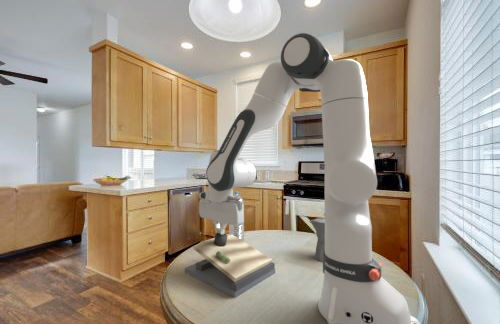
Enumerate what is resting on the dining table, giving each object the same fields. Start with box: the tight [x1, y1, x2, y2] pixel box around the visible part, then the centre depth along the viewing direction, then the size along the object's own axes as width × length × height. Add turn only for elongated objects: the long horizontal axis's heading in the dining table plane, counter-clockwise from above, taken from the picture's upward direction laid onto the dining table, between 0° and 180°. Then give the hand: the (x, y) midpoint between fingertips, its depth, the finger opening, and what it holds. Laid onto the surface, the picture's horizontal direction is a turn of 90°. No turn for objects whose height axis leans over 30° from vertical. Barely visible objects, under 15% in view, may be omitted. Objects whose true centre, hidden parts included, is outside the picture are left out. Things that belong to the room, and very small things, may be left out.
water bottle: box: [228, 191, 245, 242], centre depth 107 cm, size 7×7×25 cm
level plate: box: [193, 232, 273, 282], centre depth 80 cm, size 20×18×4 cm
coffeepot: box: [309, 212, 325, 263], centre depth 94 cm, size 15×9×18 cm, turn 86°
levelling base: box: [184, 258, 276, 298], centre depth 81 cm, size 24×20×4 cm
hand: (220, 233), depth 84 cm, fingers closed
